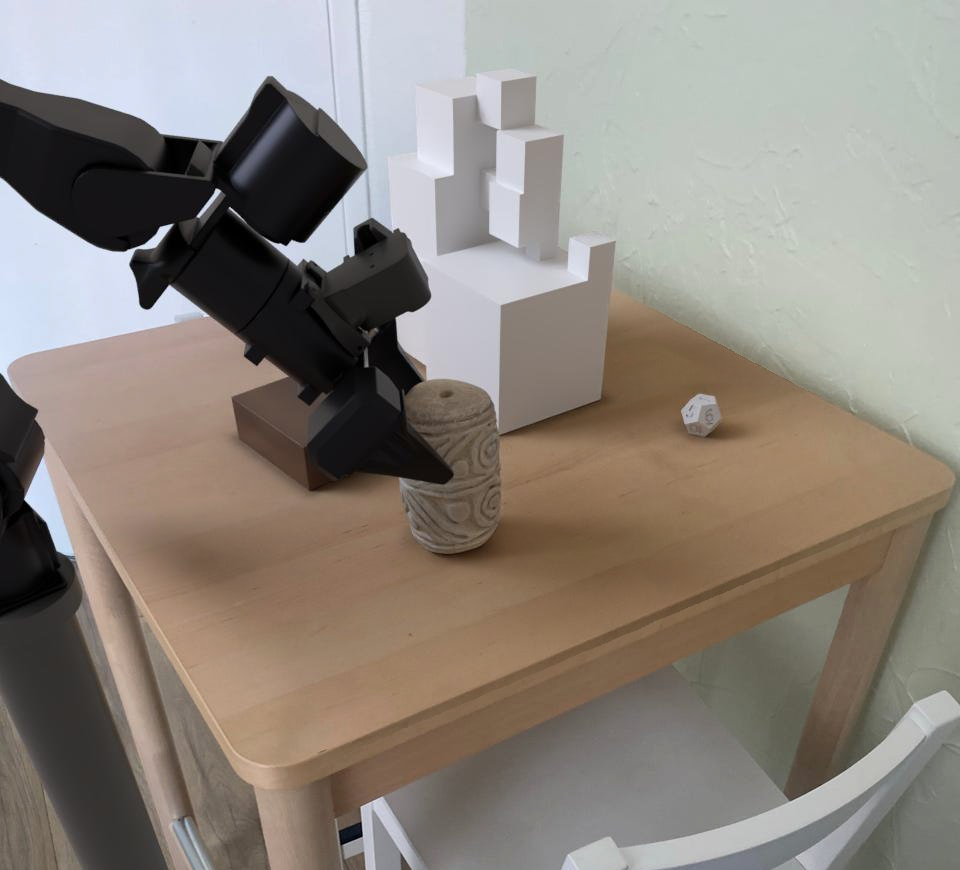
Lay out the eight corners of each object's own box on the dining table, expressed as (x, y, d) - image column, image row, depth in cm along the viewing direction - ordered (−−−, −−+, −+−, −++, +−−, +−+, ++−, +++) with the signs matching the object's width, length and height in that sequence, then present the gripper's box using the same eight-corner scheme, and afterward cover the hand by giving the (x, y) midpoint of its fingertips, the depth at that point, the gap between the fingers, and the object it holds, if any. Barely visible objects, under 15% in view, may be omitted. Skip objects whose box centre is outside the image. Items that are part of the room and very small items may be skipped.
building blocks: (600, 399, 89) (629, 97, 73) (498, 435, 84) (503, 120, 68) (470, 319, 102) (469, 48, 86) (375, 346, 97) (354, 64, 81)
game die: (707, 445, 83) (712, 414, 81) (670, 431, 85) (675, 400, 83) (727, 429, 85) (733, 399, 83) (691, 416, 87) (696, 385, 85)
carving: (390, 527, 74) (380, 383, 66) (480, 505, 76) (480, 363, 68) (420, 574, 70) (413, 426, 62) (514, 549, 72) (519, 403, 64)
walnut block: (309, 491, 78) (303, 447, 75) (238, 438, 84) (230, 396, 81) (415, 445, 83) (414, 403, 80) (342, 398, 89) (338, 358, 86)
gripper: (345, 254, 49) (549, 434, 57) (343, 149, 63) (508, 306, 71) (216, 403, 53) (423, 549, 62) (241, 275, 67) (407, 408, 76)
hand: (443, 443), depth 67 cm, fingers open, 9 cm apart
